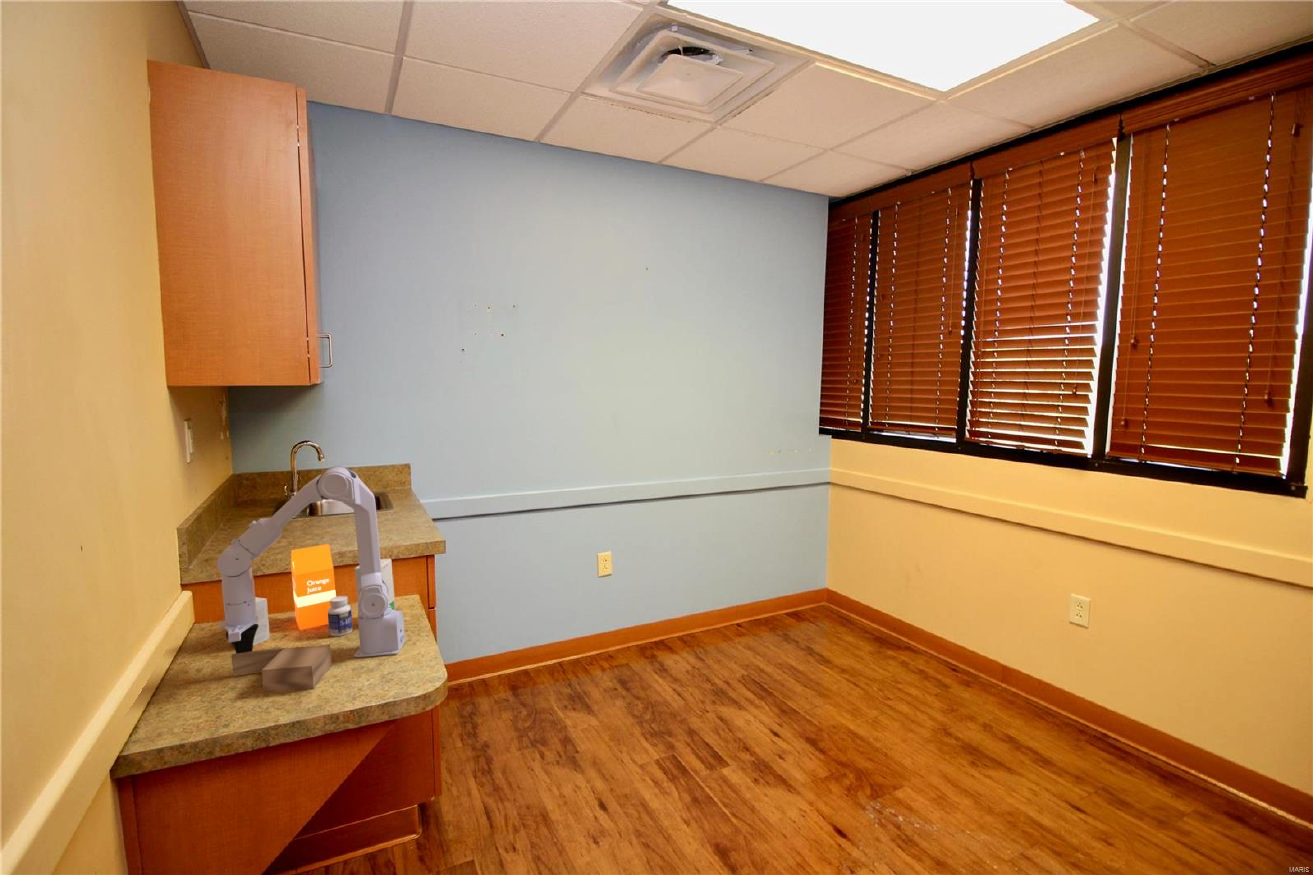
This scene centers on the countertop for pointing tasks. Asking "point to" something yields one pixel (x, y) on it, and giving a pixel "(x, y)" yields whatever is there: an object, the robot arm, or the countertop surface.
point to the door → (252, 661)
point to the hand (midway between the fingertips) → (245, 660)
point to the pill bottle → (339, 616)
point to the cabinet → (296, 669)
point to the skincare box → (387, 577)
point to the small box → (260, 622)
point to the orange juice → (312, 585)
